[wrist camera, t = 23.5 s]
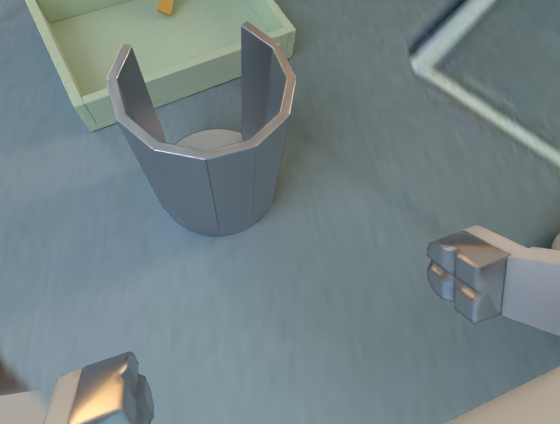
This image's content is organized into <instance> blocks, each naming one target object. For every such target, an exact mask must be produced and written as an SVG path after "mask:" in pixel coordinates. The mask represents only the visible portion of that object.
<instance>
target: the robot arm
mask: <svg viewBox="0 0 560 424" xmlns="http://www.w3.org/2000/svg"><path fill="white" fill-rule="evenodd" d="M427 256H428V258H429V259H430V260H431V263H430V264H429V266H428V268H427V279H428V281H429V284H430V286H431V288H432V289H433V291H434V292H435V293H436V294H437V295H438V296H439V297H440V298H441V299H443V300H446V301H449V302H453V303H454V307H455V310H456V311H458V312H459V313H460V314H461V315H463V316H464V317H465V318H466V319H468V320H469V321H470V322H471V323H473V324H474V325H475V324H477V323H480V322H482V321H485V320H487V319H490V318H492V317H495V316H497V315H500V314H502V315H501V316H504V317H507V318H510V319H512V320H515V321H518V322H521V323H524V324H526V325H529V326H532V327H535V328H537V329H540V330H543V331H546V332H549V333H551V334H554V335H557V336H560V250H553V249H546V248H539V247H531V248H526V247H524V246H522V245H520V244H518V243H516V242H514V241H512V240H509V239H507V238H505V237H503V236H501V235H499V234H497V233H495V232H493V231H490V230H488V229H486V228H484V227H482V226H476V225H474V226H471V227H469V228H466V229H464V230H461V231H459V232H457V233H455V234H452V235H449V236H447V237H444V238H441V239H438V240H436V241H433V242H430V243H429V245H428V247H427ZM138 364H139V363H138V361H137V359H136V357H135V356H134V354H133V353H132V352H130V351H129V352H126V353H123V354H120V355H117V356H115V357H112V358H109V359H106V360H103V361H100V362H97V363H94V364H91V365H88V366H85V367H84V368H80V369H77V370H74V371H71V372H69V373H66V374H63V375H61V376H60V377H59V378H58V379H57V381H56V384H55V387H54V390H53V394H52V397H51V400H50V403H49V406H48V409H47V412H46V415H45V419H44V422H43V424H150V423H151V421H152V420H153V418H154V405H153V399H152V393H151V390H150V387H149V384H148V382H147V380H146V377H145V376H143V375H140V374H138ZM444 424H560V366H559V367H556V368H554V369H552V370H550V371H548V372H546V373H544V374H542V375H540V376H538V377H536V378H534V379H532V380H530V381H528V382H526V383H524V384H522V385H520V386H518V387H516V388H514V389H512V390H510V391H508V392H506V393H504V394H502V395H500V396H498V397H496V398H494V399H492V400H490V401H488V402H486V403H484V404H482V405H480V406H478V407H476V408H474V409H472V410H470V411H468V412H466V413H464V414H462V415H460V416H458V417H456V418H454V419H452V420H450V421H448V422H446V423H444Z"/></svg>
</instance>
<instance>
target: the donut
mask: <svg viewBox="0 0 560 424" xmlns="http://www.w3.org/2000/svg"><path fill="white" fill-rule="evenodd" d="M551 249H553V250H560V233H559V234H558V235H557V236H556V237H555V239H554V241H553V243H552V247H551Z"/></svg>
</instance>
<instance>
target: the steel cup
mask: <svg viewBox="0 0 560 424" xmlns="http://www.w3.org/2000/svg"><path fill="white" fill-rule="evenodd" d="M106 79H107V80H106V83H107V87H108V91H109V95H110V99H111V103H112V107H113V111H114V115H115V118H116V120H117V122H118V124H119V126H120V128H121V130H122V132H123V133H124V135H125V137H126V139H127V141H128V143H129V145H130V147H131V148H132V150H133V152H134V154H135V156H136V158H137V160H138V162H139V163H140V165H141V167H142V169H143V171H144V173H145V175H146V177H147V178H148V180H149V182H150V184H151V186H152V188H153V190H154V192H155V193H156V195H157V197H158V199H159V201H160V203H161V205H162V207H163V208H164V209H165V210H166V211H167V212H168V213H169V214H170V215H171V217H172V218H173V219H174V220H175V221H176V222H178V223H179V224H180V225H182V226H183V227H185V228H187V229H188V230H191V231H193V232H196V233H199V234H203V235H209V236H224V235H230V234H234V233H238V232H240V231H243V230H245V229H247V228H249V227H251V226H252V225H253V224H255V223H256V222H257V221H258V220H259V219H261V218H262V217H263V215H264V214H265V213H266V212H267V210H268V208H269V207H270V205H271V204H272V203H273V200H274V194H275V189H276V184H277V179H278V174H279V168H280V163H281V158H282V153H283V147H284V142H285V137H286V132H287V126H288V121H289V116H290V111H291V105H292V100H293V95H294V90H295V84H296V76H295V74H294V72H293V70H292V68H291V66H290V64H289V62H288V60H287V58H286V56H285V53H284V51H283V49H282V47H281V45H279V43H278V42H276V41H275V40H273V39H272V38H271V37H269V36H268V35H266V34H265V33H263V32H262V31H260V30H259V29H258V28H256V27H255V26H253V25H252V24H250V23H249V22H247V21H246V22H245V23H243V24H242V25H241V102H242V133H240V132H236V131H233V130H227V129H209V130H203V131H200V132H196V133H194V134H191V135H189V136H187V137H185V138H184V139H182V140H181V141H179V142H178V143H177V144H175V145H174V144H169V143H166V140H165V137H164V135H163V132H162V129H161V126H160V123H159V121H158V118H157V115H156V112H155V109H154V107H153V104H152V101H151V98H150V95H149V93H148V90H147V87H146V84H145V81H144V79H143V76H142V73H141V70H140V67H139V65H138V62H137V59H136V56H135V53H134V51H133V48H132V46H131V45H127V44H122V46H121V48H120V50H119V52H118V54H117V57H116V59H115V61H114V63H113V65H112V67H111V69H110V72H109V74H108V76H107V78H106Z"/></svg>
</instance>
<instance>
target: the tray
mask: <svg viewBox="0 0 560 424" xmlns="http://www.w3.org/2000/svg"><path fill="white" fill-rule="evenodd" d="M25 2H26V4H27V6H28V8H29V10H30V12H31V15H32V17H33V19H34V21H35V23H36V26H37V28H38V30H39V32H40V34H41V37H42V39H43V41H44V43H45V45H46V48H47V50H48V52H49V54H50V56H51V58H52V61H53V63H54V65H55V67H56V69H57V72H58V74H59V76H60V78H61V80H62V83H63V85H64V87H65V89H66V91H67V94H68V96H69V98H70V100H71V102H72V104H73V107H74V108H75V110H76V111H77V113H78V114H79V116H80V117H81V119H82V120H83V122H84V123H85V125H86V126H87V127H88V129H89V131H90V132H93V131H96V130H98V129H101V128H104V127H106V126H109V125H112V124H114V123H117V120H116V118H115V115H114V111H113V107H112V103H111V99H110V95H109V91H108V87H107V83H106V80H107V79H106V78H107V76H108V74H109V72H110V69H111V67H112V65H113V63H114V61H115V59H116V57H117V54H118V52H119V50H120V48H121V46H122V44H127V45H131V46H132V48H133V51H134V53H135V56H136V59H137V62H138V65H139V67H140V70H141V73H142V76H143V79H144V81H145V84H146V87H147V90H148V93H149V95H150V98H151V101H152V104H153V107H154V109H155V108H157V107H160V106H163V105H166V104H168V103H171V102H174V101H176V100H179V99H182V98H184V97H187V96H190V95H192V94H195V93H198V92H200V91H203V90H206V89H208V88H211V87H214V86H217V85H219V84H222V83H225V82H227V81H230V80H233V79H235V78H238V77H241V25H242V24H243V23H245V22H246V21H247V22H249V23H250V24H252V25H253V26H255V27H256V28H258V29H259V30H260V31H262V32H263V33H265V34H266V35H268V36H269V37H271V38H272V39H273V40H275V41H276V42H278V43H279V45H281V47H282V49H283V51H284V53H285V56H286V58H287V59H289V58H291V57H292V52H293V47H294V40H295V34H296V29H295V28H294V26H293V25H292V24H291V22H290V21H289V20H288V18H287V17H286V16H285V14H284V13H283V12H282V11H281V9H280V8H279V7H278V5H277V4H276V3H275V1H274V0H174V3H173V8H172V13H171V16H168V15H165V14H163V13H160V12H158V11H157V8H158V3H159V0H25Z"/></svg>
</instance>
